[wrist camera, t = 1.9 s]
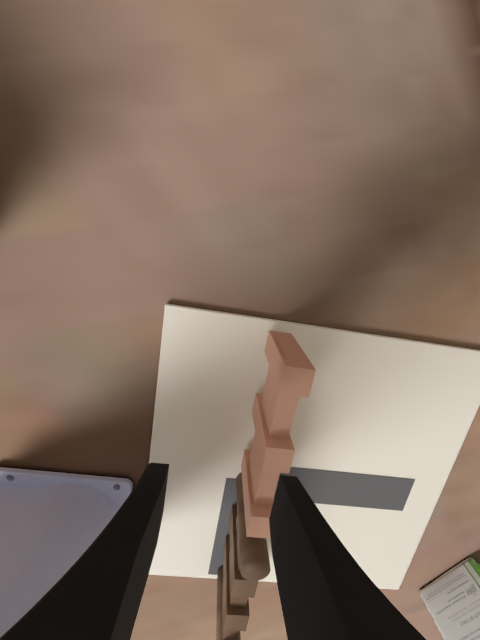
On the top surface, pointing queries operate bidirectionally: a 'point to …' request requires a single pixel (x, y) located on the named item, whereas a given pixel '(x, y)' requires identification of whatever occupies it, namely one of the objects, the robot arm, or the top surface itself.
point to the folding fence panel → (273, 428)
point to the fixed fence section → (239, 572)
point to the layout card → (308, 434)
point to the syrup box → (456, 601)
